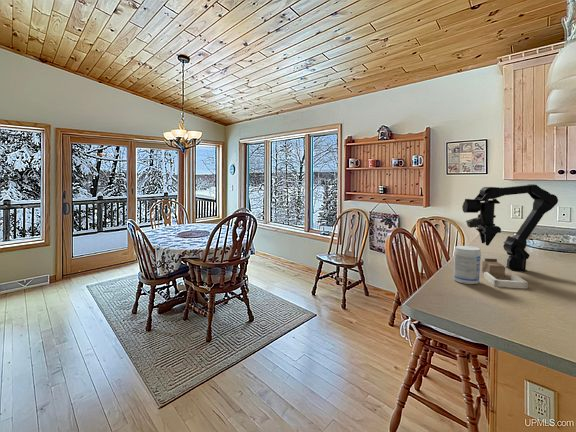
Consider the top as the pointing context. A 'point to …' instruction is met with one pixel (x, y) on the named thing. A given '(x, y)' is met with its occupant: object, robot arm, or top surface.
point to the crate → (493, 268)
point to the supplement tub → (467, 264)
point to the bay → (507, 281)
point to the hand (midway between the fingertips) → (485, 244)
